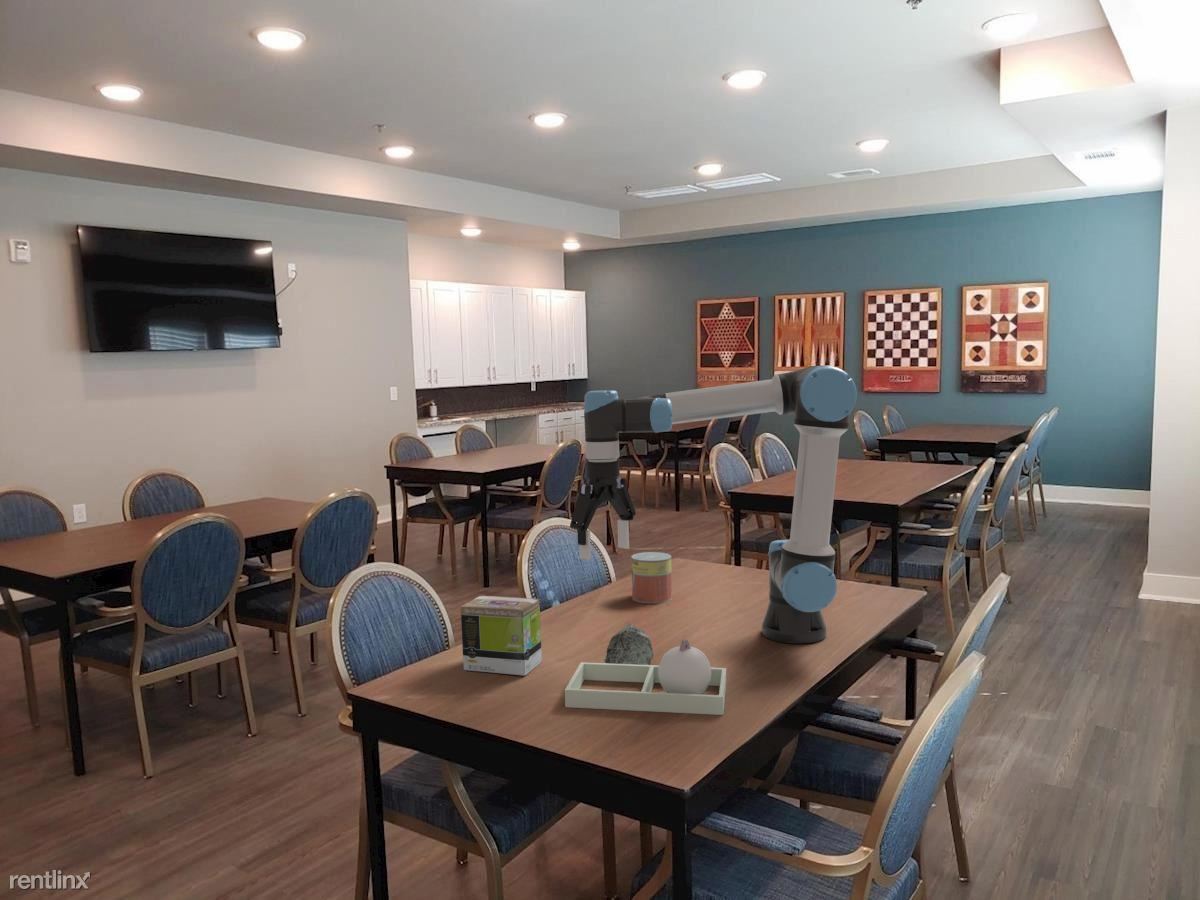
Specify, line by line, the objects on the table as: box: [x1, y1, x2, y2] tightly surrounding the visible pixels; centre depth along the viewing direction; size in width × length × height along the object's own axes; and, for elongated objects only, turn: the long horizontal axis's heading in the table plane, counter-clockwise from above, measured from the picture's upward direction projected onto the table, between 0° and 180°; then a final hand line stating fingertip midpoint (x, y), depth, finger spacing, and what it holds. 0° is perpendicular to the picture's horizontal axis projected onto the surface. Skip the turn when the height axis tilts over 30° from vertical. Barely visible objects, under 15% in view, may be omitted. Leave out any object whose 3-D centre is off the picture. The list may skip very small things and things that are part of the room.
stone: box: [603, 623, 654, 665], centre depth 193 cm, size 10×10×10 cm
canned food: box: [630, 551, 673, 604], centre depth 246 cm, size 11×11×12 cm
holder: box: [564, 661, 727, 716], centre depth 175 cm, size 30×16×4 cm, turn 80°
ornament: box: [658, 638, 712, 695], centre depth 173 cm, size 10×10×12 cm
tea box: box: [460, 595, 543, 677], centre depth 193 cm, size 15×10×15 cm, turn 71°
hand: (604, 553), depth 198 cm, fingers open, 13 cm apart
